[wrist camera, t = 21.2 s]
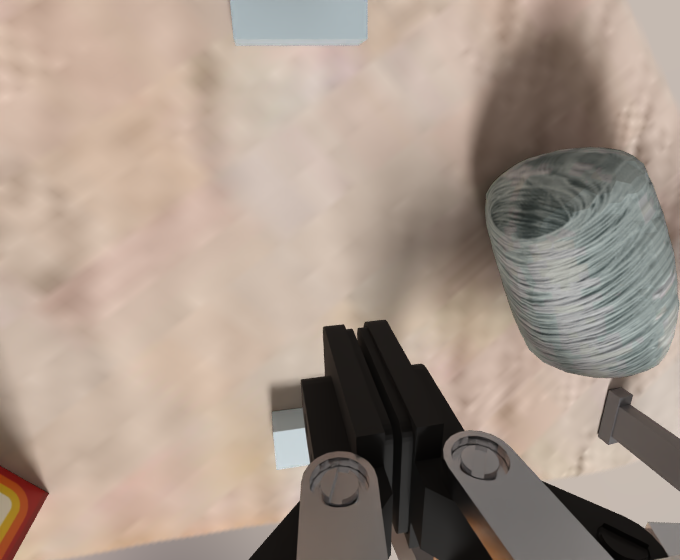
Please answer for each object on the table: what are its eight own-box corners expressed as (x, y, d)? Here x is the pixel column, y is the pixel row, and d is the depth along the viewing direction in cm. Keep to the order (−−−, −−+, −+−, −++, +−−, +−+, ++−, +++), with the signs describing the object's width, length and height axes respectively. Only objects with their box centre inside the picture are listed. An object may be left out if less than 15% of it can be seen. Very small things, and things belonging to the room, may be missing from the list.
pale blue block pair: (228, -29, 20) (225, -44, 18) (357, -26, 21) (367, -40, 19) (275, 447, 30) (276, 469, 28) (361, 435, 31) (367, 455, 29)
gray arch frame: (621, 387, 33) (912, 580, 20) (610, 433, 35) (871, 641, 21) (365, 444, 28) (514, 759, 15) (366, 495, 30) (500, 821, 16)
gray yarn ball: (435, 189, 22) (670, 240, 15) (535, 108, 26) (758, 118, 19) (463, 362, 30) (622, 445, 23) (535, 281, 34) (690, 332, 27)
